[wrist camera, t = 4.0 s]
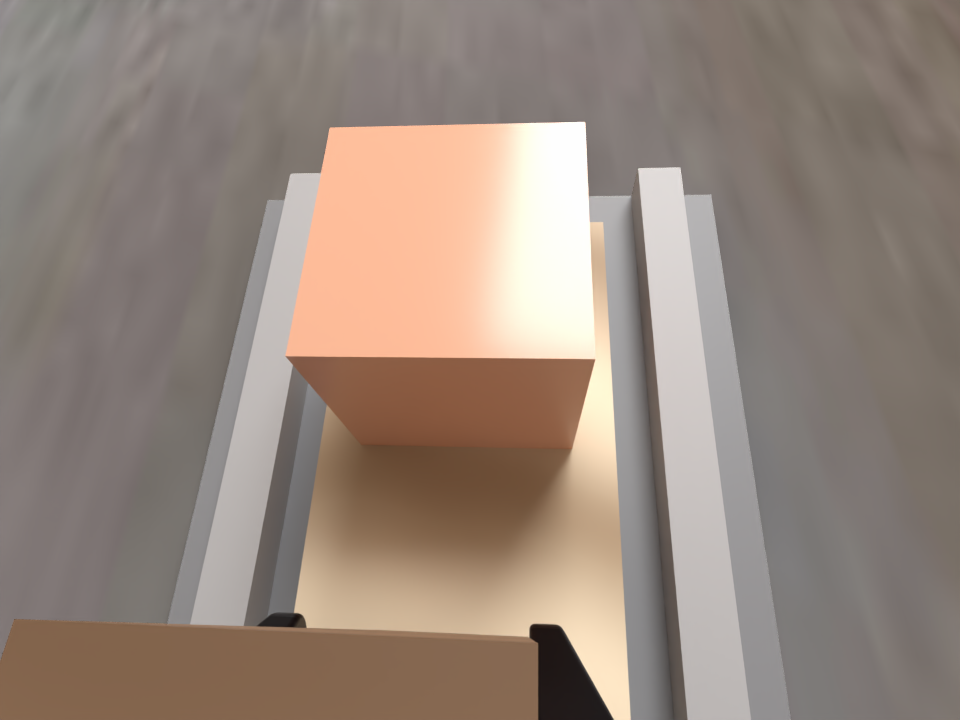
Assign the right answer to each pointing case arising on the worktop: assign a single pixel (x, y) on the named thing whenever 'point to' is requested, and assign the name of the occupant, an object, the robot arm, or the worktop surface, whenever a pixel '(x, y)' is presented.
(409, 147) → the terracotta cube
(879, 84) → the worktop surface
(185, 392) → the worktop surface
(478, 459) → the wooden sled with post
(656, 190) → the guide board
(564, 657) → the robot arm
